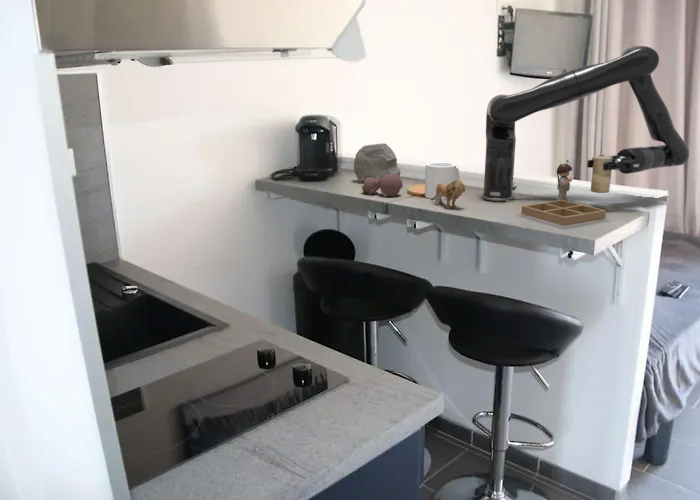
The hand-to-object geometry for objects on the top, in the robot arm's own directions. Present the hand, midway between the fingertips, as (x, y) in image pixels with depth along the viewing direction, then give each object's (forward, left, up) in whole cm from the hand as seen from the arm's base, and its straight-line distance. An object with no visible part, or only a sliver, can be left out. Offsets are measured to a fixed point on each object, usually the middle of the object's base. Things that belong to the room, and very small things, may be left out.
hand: (596, 165), depth 185 cm
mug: (-19, -45, -14) cm, 51 cm away
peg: (-2, +2, -8) cm, 8 cm away
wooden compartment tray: (+8, -10, -14) cm, 19 cm away
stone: (-38, -70, -14) cm, 81 cm away
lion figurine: (-4, -43, -14) cm, 45 cm away
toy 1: (-18, -65, -14) cm, 69 cm away
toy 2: (-11, -7, -14) cm, 19 cm away
